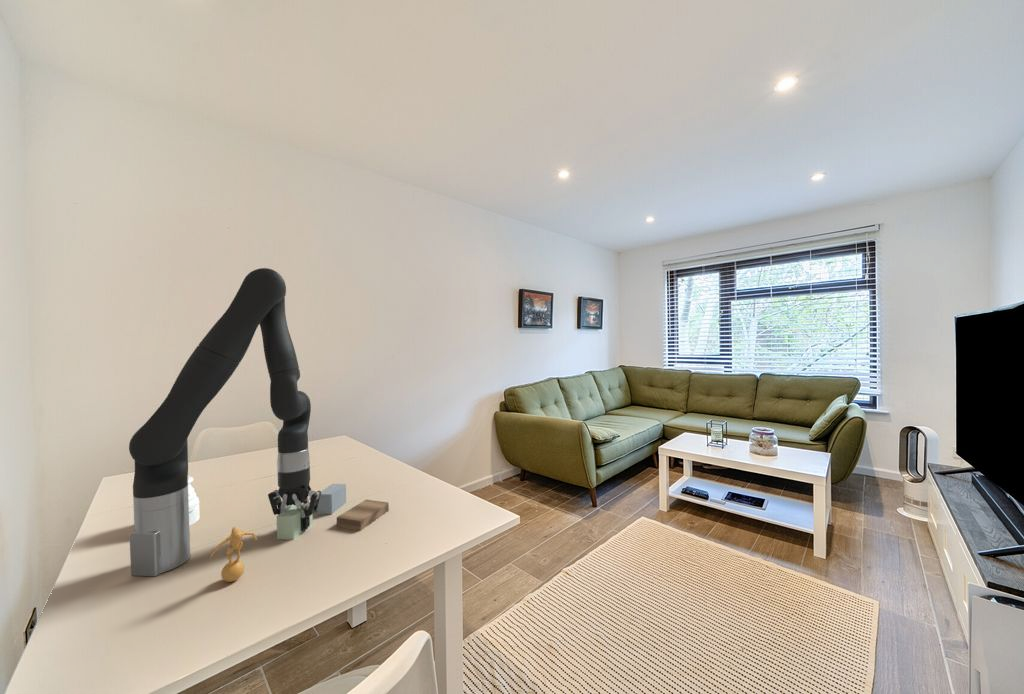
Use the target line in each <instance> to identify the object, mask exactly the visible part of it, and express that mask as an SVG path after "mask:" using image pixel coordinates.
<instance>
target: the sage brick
mask: <svg viewBox="0 0 1024 694" xmlns="http://www.w3.org/2000/svg"><path fill="white" fill-rule="evenodd" d="M302 504H303V503H302ZM309 504H310V502H309ZM304 509H305V508H304ZM313 514H314V513H313ZM313 514H312V515H310V525H309V527H308V529H309V528H311V526H313V525H314V521H313V519H314V517H313ZM304 532H305V531H301V515H300V512H299V510H297V507H296V505H292V506H291V508H288V509H287V510H286V511H284V512H282V513H281V514H279V515H278V514H277V515H276V536H277V537H276V539H277V540H290V541H291V540H295V539H297V538H298V537H299V536H300V535H302V534H303V533H304Z"/></svg>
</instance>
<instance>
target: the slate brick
mask: <svg viewBox="0 0 1024 694" xmlns="http://www.w3.org/2000/svg"><path fill="white" fill-rule="evenodd" d="M320 491H321V496H320V500H319V504H318V508H317V511H316V513H317V515H333V514H335V512H337V511H338V510H339V509H341V508H342V507H343V506H344V505H345V504H346V503H347V484H346V483H331V484H330V485H328V486H327V487H325V488H323V490H320Z"/></svg>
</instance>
